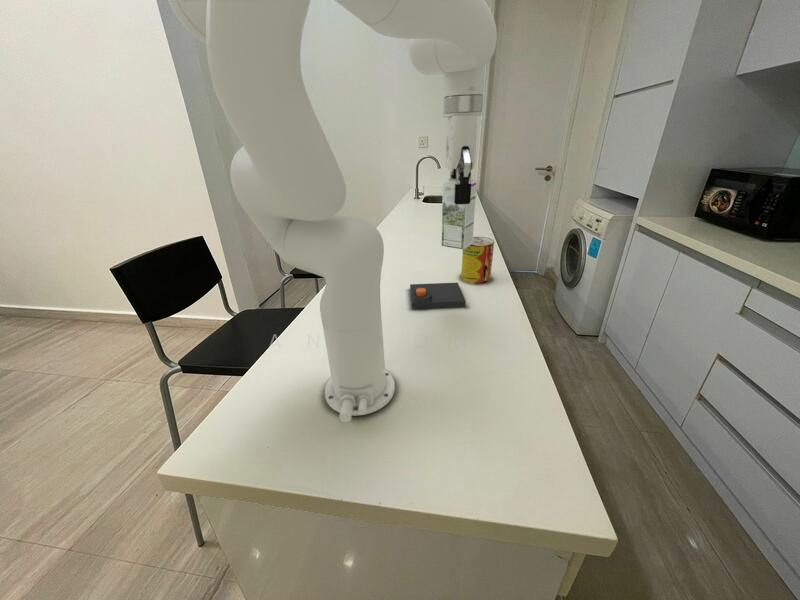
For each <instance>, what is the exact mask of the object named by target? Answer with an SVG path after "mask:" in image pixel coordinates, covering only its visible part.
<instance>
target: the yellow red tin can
mask: <svg viewBox="0 0 800 600" xmlns="http://www.w3.org/2000/svg"><path fill="white" fill-rule="evenodd" d="M494 246H495V240H494V239H493V238H490V237H487V236H473V243H472V244H471V245H470V246H468V247H467V248H465V249H462V256H461V257H462V258H461V276H460V277H461V280H462V281H464V282H466V283H469V284H475V285H477V284H478V285H480V284H486V283H488V282H490V281H491V279H492V278H491V277H492V269H493V268H492V266H493V258H494V257H493V256H494Z"/></svg>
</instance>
